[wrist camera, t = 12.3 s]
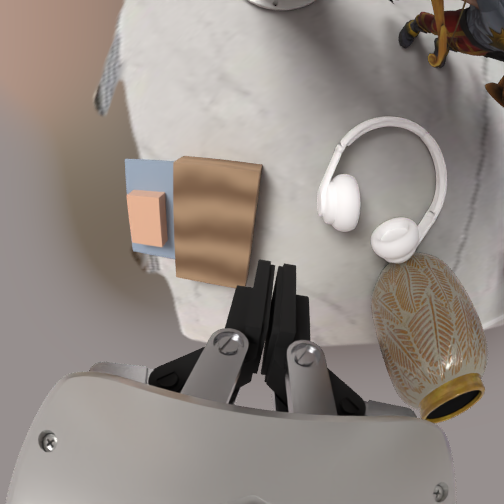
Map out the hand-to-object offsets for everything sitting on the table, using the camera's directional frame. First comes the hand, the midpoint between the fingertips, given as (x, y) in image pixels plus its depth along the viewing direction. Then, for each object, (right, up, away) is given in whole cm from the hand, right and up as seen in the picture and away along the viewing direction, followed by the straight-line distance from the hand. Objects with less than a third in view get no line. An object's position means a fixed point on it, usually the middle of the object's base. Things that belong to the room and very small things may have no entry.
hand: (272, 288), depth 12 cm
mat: (-18, +9, +32) cm, 38 cm away
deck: (-6, +7, +31) cm, 33 cm away
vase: (+28, -4, +33) cm, 44 cm away
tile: (-18, +7, +31) cm, 37 cm away
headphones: (+19, +13, +24) cm, 34 cm away
